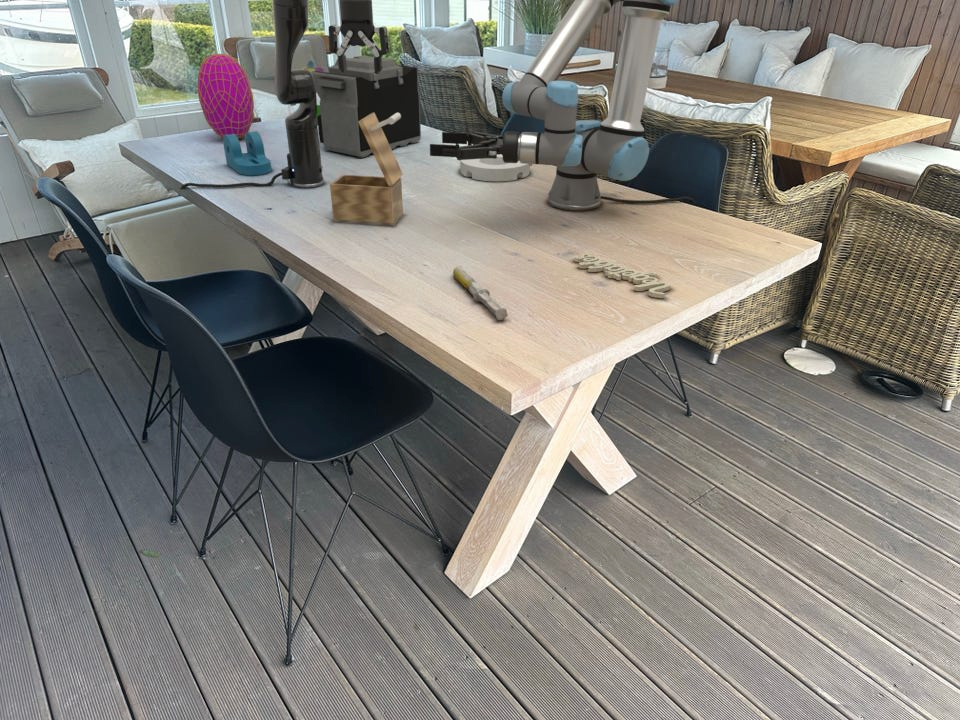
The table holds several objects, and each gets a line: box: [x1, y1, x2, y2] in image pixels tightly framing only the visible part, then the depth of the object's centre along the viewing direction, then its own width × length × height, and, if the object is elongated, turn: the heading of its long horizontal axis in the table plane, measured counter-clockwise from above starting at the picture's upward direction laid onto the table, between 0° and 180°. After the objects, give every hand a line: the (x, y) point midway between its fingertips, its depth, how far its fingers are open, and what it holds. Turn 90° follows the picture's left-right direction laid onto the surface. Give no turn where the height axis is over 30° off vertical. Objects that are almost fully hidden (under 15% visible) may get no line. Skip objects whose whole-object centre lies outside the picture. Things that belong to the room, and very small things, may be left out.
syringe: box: [452, 266, 509, 321], centre depth 145 cm, size 25×4×3 cm, turn 21°
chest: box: [329, 174, 404, 227], centre depth 185 cm, size 17×10×10 cm, turn 80°
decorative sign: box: [574, 252, 671, 299], centre depth 155 cm, size 26×1×10 cm
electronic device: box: [311, 55, 422, 159], centre depth 250 cm, size 37×22×30 cm, turn 144°
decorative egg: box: [197, 53, 255, 140], centre depth 258 cm, size 19×19×30 cm
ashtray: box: [459, 154, 531, 182], centre depth 228 cm, size 23×23×4 cm
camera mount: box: [222, 131, 272, 176], centre depth 226 cm, size 18×10×10 cm, turn 35°
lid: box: [358, 113, 404, 186], centre depth 176 cm, size 17×10×8 cm
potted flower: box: [301, 59, 325, 125], centre depth 285 cm, size 9×8×25 cm
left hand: (360, 72), depth 168 cm, fingers open, 8 cm apart
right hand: (436, 143), depth 174 cm, fingers open, 13 cm apart
